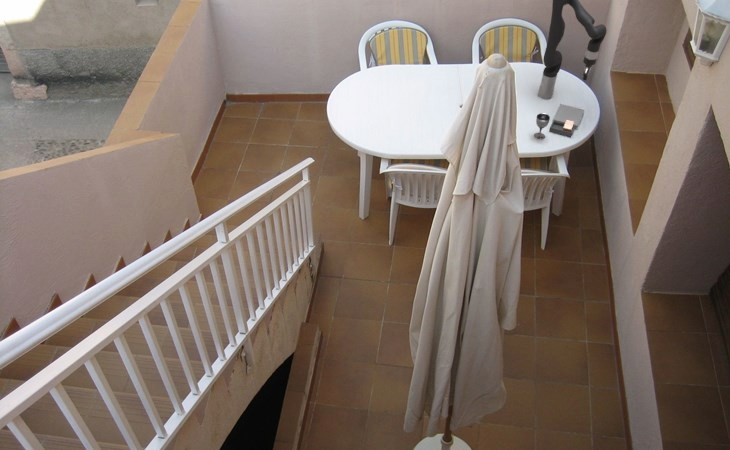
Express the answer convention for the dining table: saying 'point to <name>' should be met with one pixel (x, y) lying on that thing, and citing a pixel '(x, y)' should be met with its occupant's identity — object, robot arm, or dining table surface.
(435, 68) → the dining table surface
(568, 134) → the tray
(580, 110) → the slate ledge
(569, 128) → the tile front
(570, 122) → the tile rear
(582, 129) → the dining table surface
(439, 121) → the dining table surface
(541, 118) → the wine glass
